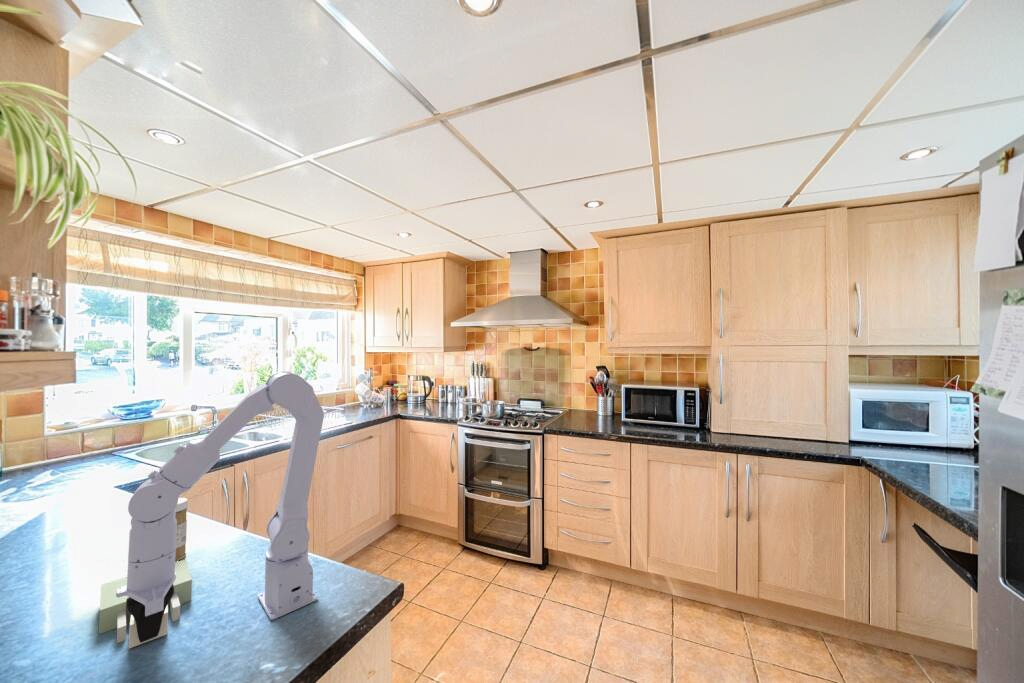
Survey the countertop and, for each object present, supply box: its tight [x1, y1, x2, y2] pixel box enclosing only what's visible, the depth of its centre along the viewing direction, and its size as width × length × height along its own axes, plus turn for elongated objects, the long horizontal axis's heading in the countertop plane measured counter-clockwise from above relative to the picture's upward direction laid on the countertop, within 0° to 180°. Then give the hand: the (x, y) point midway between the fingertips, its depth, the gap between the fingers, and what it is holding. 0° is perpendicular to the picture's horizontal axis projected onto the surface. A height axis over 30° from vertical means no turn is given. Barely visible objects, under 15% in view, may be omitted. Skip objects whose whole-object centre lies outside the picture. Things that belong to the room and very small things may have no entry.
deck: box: [98, 559, 193, 644], centre depth 70 cm, size 15×12×4 cm
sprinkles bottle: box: [175, 497, 189, 562], centre depth 86 cm, size 5×5×13 cm
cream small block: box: [128, 604, 169, 649], centre depth 64 cm, size 4×5×4 cm
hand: (148, 637), depth 62 cm, fingers closed, pressing on cream small block
